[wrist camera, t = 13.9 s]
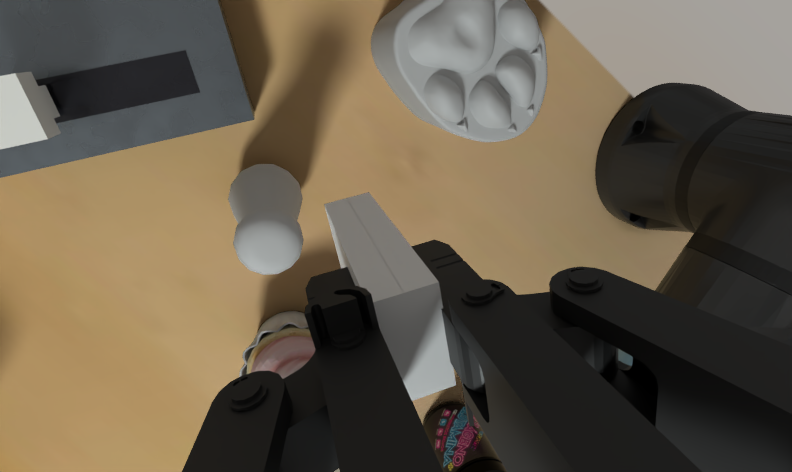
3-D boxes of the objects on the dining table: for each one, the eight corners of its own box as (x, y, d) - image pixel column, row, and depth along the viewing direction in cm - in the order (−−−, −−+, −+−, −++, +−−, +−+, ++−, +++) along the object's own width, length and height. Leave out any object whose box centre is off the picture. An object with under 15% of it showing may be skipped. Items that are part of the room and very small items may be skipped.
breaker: (52, 69, 30) (15, 73, 25) (78, 125, 31) (47, 139, 27) (-17, 82, 29) (-69, 89, 24) (13, 139, 31) (-31, 156, 26)
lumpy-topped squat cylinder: (446, -48, 38) (495, -73, 30) (529, 77, 43) (589, 84, 36) (354, 45, 38) (378, 45, 31) (448, 156, 44) (489, 180, 36)
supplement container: (482, 405, 57) (526, 475, 48) (456, 448, 58) (493, 524, 49) (436, 393, 54) (473, 465, 45) (410, 438, 56) (441, 517, 46)
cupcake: (339, 368, 49) (357, 439, 40) (246, 383, 47) (244, 462, 38) (335, 289, 46) (354, 348, 37) (235, 301, 44) (229, 367, 35)
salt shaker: (221, 165, 39) (206, 216, 27) (290, 150, 40) (304, 193, 28) (242, 229, 41) (236, 300, 30) (306, 213, 42) (325, 276, 31)
